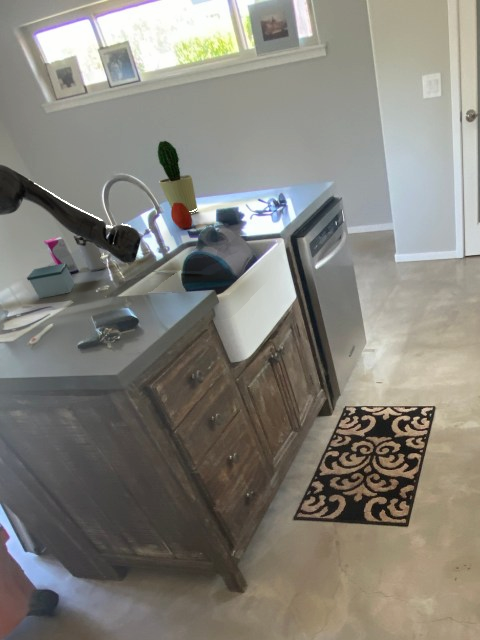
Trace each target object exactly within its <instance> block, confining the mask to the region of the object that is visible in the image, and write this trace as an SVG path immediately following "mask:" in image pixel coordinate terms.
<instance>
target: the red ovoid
mask: <svg viewBox="0 0 480 640" xmlns="http://www.w3.org/2000/svg"><path fill="white" fill-rule="evenodd" d="M176 202H177V201H176ZM170 217H171V220H172V222H173V223H174V224H175V225H176V226H177V227H178V228H179V229H181V230H187V229H191V228H192V226H193V219H192V215H191V214H190V212H189V211H188V209H187V208H186V206H185V205H184V204H182V203H180V202H179V203H174V204H173V205H172V208H171V209H170Z"/></svg>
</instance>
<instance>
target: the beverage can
mask: <svg viewBox="0 0 480 640" xmlns="http://www.w3.org/2000/svg"><path fill="white" fill-rule="evenodd" d="M76 245H77V247H78V249H79V251H80V254H81V255H82V258H83V260H84V261H85V264H86V266H87V268H88V270H90V271H92V272H96V271H101V270H104V269H106V266H107V264H106V265H105V264H104V263H103V262H101V261H100V257H101V254H102V252H101V248H99V247H97V246H96V245H95V244H94V243H91V244H88V243H87V242H86V245H85V246H81V245H78V244H77V243H76Z"/></svg>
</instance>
